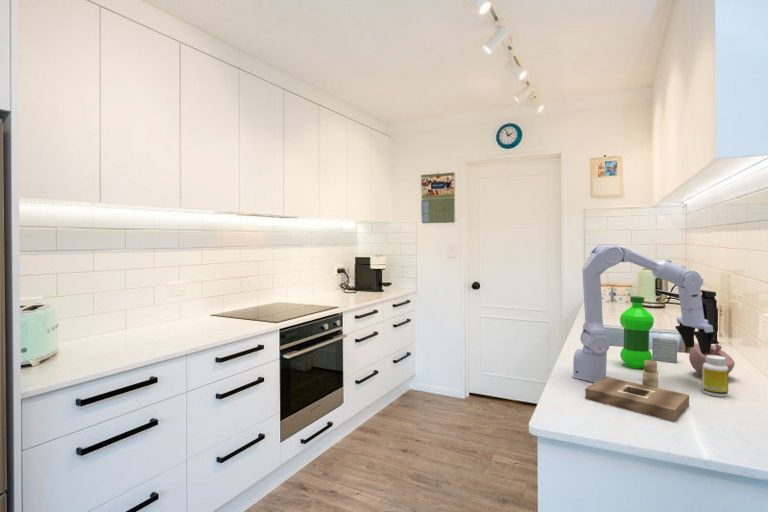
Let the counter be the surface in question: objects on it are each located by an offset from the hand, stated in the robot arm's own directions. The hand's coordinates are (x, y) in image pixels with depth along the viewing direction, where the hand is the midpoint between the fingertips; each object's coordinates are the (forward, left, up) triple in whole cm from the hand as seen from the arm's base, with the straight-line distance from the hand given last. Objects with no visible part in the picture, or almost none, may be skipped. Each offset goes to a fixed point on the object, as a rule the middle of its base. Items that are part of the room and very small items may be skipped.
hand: (697, 350), depth 138 cm
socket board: (-8, -31, -11) cm, 34 cm away
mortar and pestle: (+2, +11, -11) cm, 15 cm away
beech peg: (-8, -18, -11) cm, 23 cm away
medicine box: (-14, +22, -11) cm, 28 cm away
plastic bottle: (-19, +6, -11) cm, 23 cm away
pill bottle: (+6, -7, -11) cm, 14 cm away
